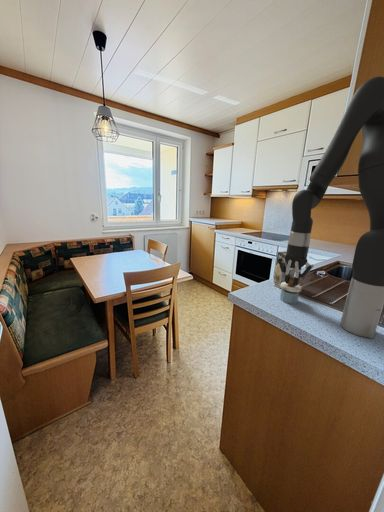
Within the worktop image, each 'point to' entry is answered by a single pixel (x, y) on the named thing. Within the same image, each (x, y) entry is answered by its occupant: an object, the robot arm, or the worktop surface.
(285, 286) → the lid
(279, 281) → the coffee box
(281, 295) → the bowl
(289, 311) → the worktop surface
